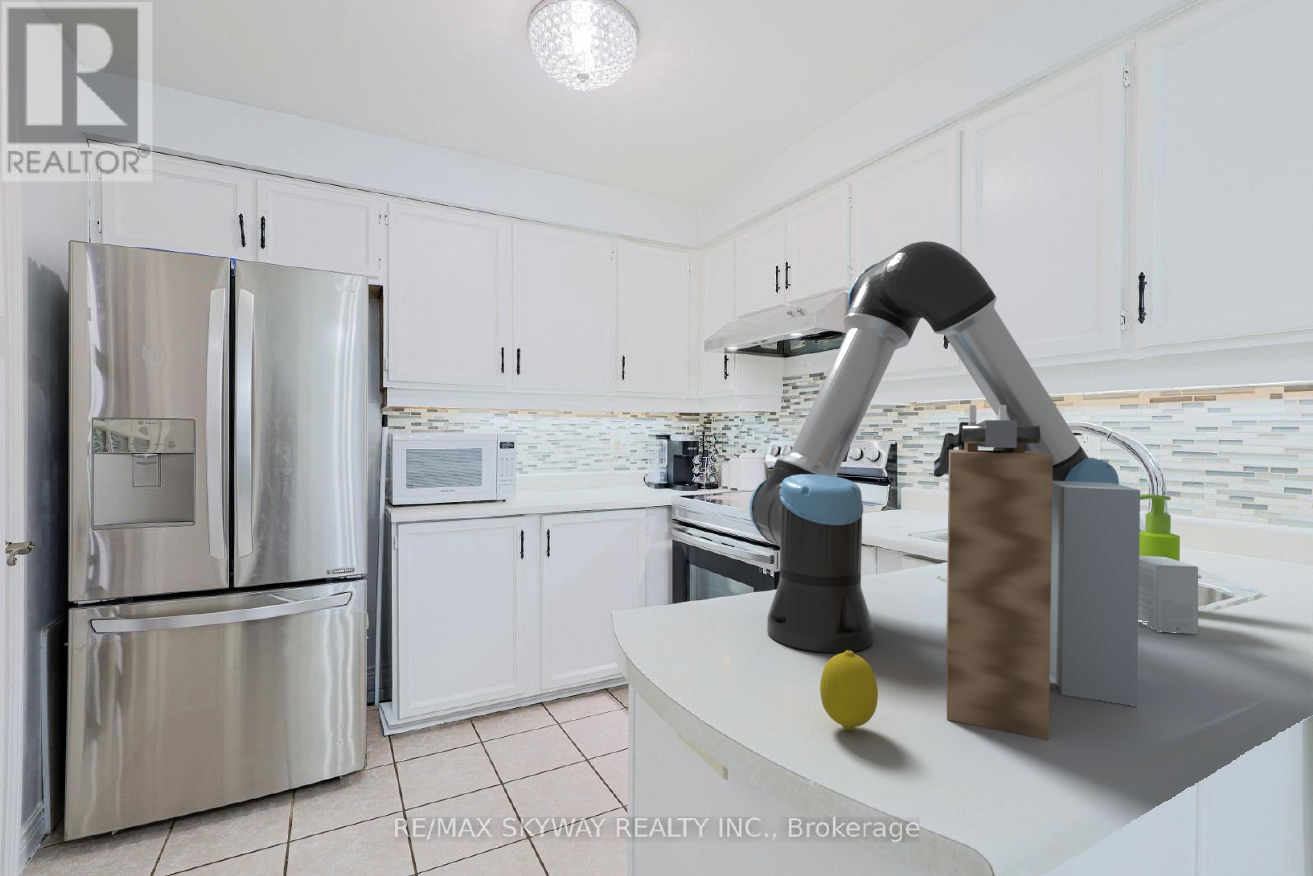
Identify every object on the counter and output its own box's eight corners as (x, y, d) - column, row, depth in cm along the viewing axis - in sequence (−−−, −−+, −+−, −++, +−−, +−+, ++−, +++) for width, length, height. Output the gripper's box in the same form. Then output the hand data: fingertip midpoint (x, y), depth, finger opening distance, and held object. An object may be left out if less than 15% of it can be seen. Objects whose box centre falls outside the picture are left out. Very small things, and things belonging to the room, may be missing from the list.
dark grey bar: (962, 446, 63) (962, 420, 63) (956, 444, 88) (957, 425, 88) (1040, 448, 60) (1041, 420, 60) (1011, 445, 85) (1012, 426, 85)
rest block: (1061, 694, 69) (1064, 487, 69) (1045, 660, 80) (1048, 480, 80) (1137, 707, 66) (1140, 490, 66) (1109, 669, 77) (1112, 482, 77)
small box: (1198, 636, 91) (1200, 566, 91) (1156, 633, 92) (1157, 564, 92) (1165, 620, 99) (1166, 556, 99) (1127, 617, 100) (1128, 554, 100)
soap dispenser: (1121, 603, 109) (1122, 492, 109) (1163, 605, 108) (1165, 493, 108) (1142, 612, 103) (1144, 496, 103) (1187, 614, 102) (1189, 497, 102)
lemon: (811, 718, 63) (812, 642, 63) (862, 716, 63) (863, 641, 63) (831, 745, 57) (832, 661, 57) (887, 743, 58) (888, 660, 58)
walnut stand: (946, 719, 63) (950, 442, 63) (946, 662, 79) (949, 442, 79) (1048, 739, 59) (1052, 444, 59) (1025, 674, 75) (1029, 443, 75)
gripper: (1036, 514, 93) (1061, 439, 75) (924, 507, 100) (921, 436, 82) (1033, 471, 97) (1057, 389, 78) (925, 468, 103) (923, 391, 85)
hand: (987, 413), depth 80 cm, fingers closed on dark grey bar, 3 cm apart
